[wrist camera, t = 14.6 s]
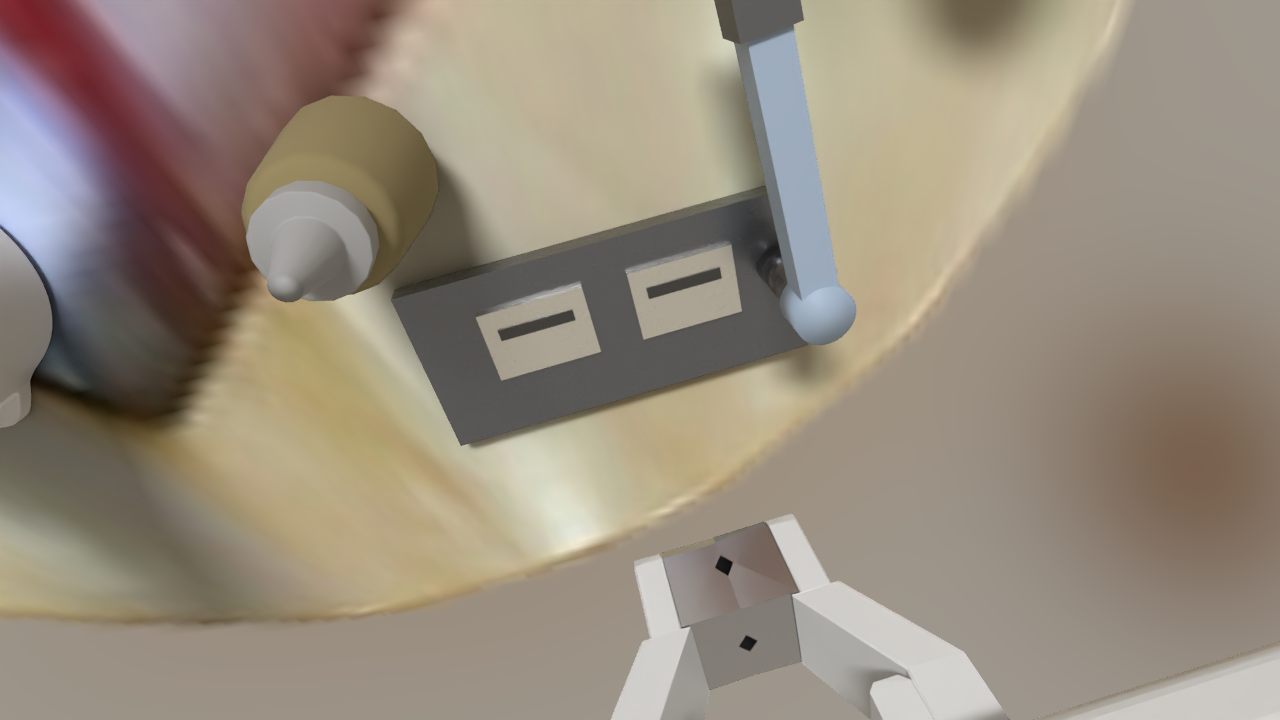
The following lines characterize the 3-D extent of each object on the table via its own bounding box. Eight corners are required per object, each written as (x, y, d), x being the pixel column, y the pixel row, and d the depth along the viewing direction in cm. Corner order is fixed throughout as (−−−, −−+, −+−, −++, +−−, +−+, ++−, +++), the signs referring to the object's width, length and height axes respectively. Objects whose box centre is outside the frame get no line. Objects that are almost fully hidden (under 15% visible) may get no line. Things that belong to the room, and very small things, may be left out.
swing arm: (840, 311, 41) (860, 332, 39) (785, 331, 41) (802, 354, 39) (770, -82, 30) (793, -85, 28) (695, -52, 30) (712, -54, 28)
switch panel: (462, 433, 49) (457, 489, 44) (394, 289, 43) (379, 336, 37) (799, 335, 50) (835, 379, 45) (783, 180, 44) (821, 210, 38)
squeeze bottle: (452, 102, 38) (418, 197, 23) (436, 237, 41) (398, 397, 26) (295, 66, 36) (140, 145, 20) (293, 212, 39) (160, 371, 24)
